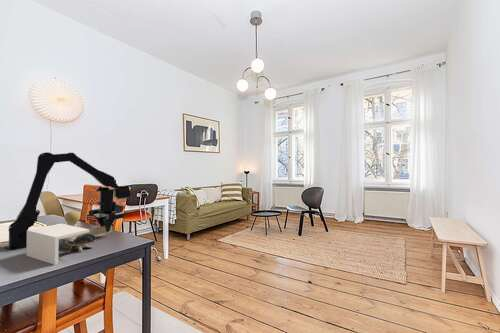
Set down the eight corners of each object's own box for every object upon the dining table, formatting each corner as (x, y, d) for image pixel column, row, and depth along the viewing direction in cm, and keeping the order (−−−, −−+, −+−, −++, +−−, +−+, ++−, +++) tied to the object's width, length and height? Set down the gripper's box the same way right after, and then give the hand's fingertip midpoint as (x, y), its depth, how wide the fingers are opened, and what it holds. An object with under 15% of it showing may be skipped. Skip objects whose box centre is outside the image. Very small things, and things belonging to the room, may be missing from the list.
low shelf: (26, 255, 91) (26, 230, 91) (60, 246, 101) (61, 223, 101) (54, 264, 83) (55, 237, 83) (88, 253, 94) (89, 229, 94)
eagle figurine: (76, 253, 91) (99, 242, 99) (67, 237, 91) (90, 227, 99) (68, 260, 94) (91, 249, 102) (59, 244, 95) (82, 234, 103)
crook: (56, 246, 101) (56, 238, 101) (108, 231, 124) (108, 224, 124) (73, 249, 98) (73, 241, 98) (123, 234, 120) (123, 227, 120)
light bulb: (71, 232, 120) (72, 212, 120) (61, 231, 121) (61, 211, 121) (83, 229, 126) (83, 210, 126) (72, 228, 128) (73, 209, 128)
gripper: (133, 199, 124) (133, 229, 125) (109, 196, 132) (108, 225, 132) (114, 202, 114) (113, 235, 114) (88, 199, 122) (87, 230, 122)
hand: (106, 231), depth 121 cm, fingers closed on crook, 3 cm apart
